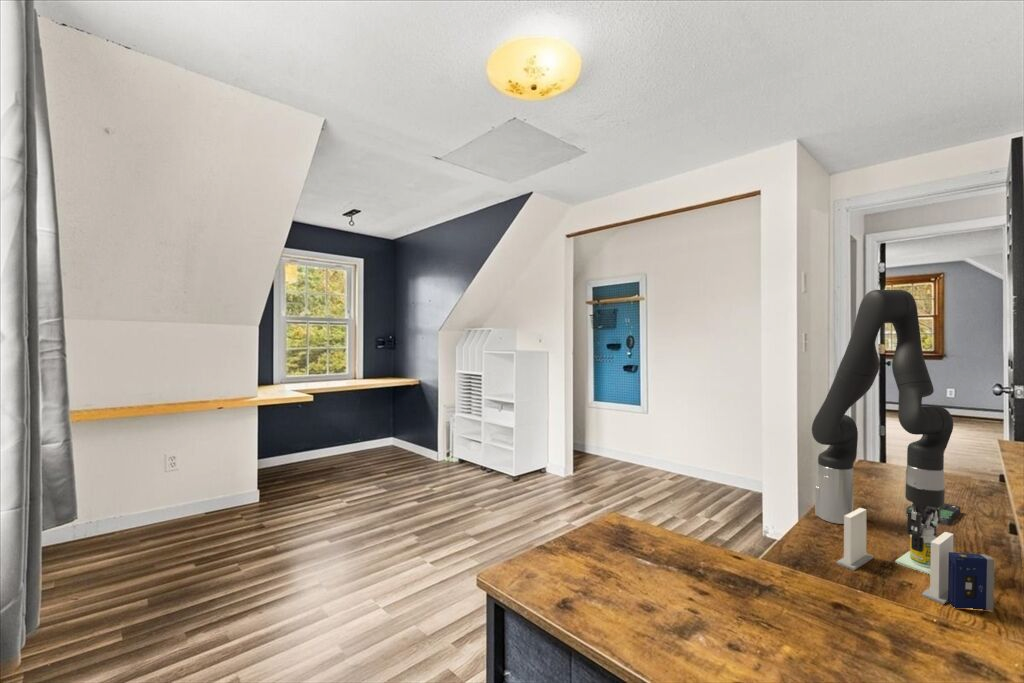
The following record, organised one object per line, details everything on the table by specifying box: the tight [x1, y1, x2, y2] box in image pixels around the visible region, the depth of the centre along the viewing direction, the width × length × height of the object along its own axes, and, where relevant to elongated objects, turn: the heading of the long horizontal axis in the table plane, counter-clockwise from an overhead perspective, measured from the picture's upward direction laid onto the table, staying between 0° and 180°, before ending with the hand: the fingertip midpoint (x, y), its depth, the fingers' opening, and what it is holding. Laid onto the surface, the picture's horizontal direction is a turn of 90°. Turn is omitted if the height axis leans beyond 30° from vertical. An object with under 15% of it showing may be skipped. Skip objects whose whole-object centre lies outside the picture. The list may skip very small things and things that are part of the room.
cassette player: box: [947, 551, 995, 612], centre depth 103 cm, size 7×2×12 cm, turn 78°
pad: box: [894, 550, 930, 576], centre depth 121 cm, size 9×9×1 cm
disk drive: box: [905, 502, 961, 527], centre depth 151 cm, size 10×3×15 cm
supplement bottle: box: [909, 524, 937, 568], centre depth 121 cm, size 5×5×10 cm
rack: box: [836, 507, 955, 605], centre depth 116 cm, size 22×11×13 cm, turn 32°
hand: (923, 545), depth 121 cm, fingers open, 8 cm apart
